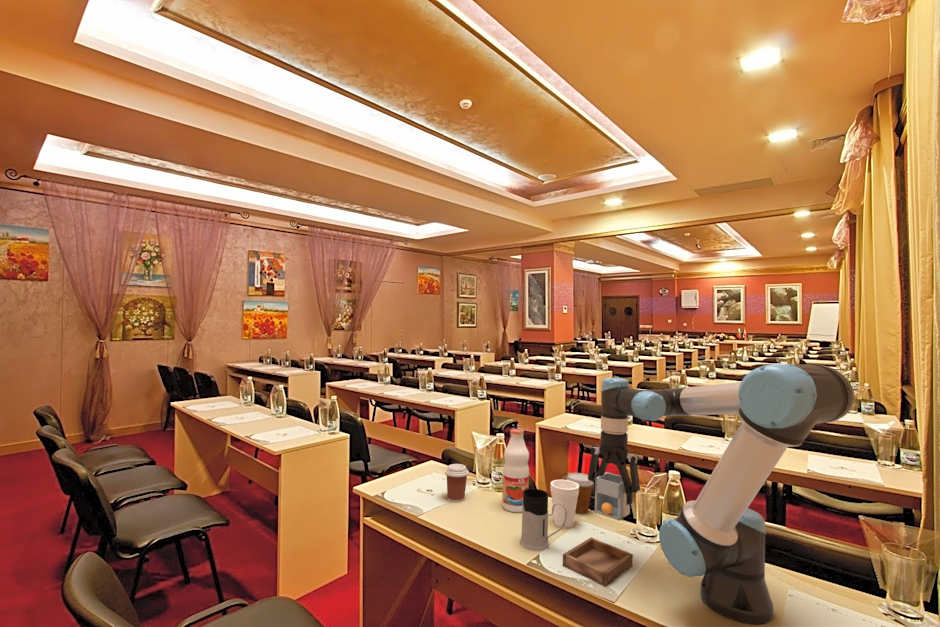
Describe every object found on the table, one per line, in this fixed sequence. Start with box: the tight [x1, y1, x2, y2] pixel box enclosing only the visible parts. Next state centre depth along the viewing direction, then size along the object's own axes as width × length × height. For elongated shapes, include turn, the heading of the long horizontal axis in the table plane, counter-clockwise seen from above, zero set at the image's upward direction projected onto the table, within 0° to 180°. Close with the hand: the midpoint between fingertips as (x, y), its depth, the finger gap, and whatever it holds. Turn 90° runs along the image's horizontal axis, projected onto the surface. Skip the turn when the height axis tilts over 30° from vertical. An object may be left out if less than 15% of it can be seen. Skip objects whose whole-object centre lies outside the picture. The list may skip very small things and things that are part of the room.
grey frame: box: [594, 471, 631, 522], centre depth 128 cm, size 7×7×10 cm
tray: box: [562, 537, 634, 587], centre depth 122 cm, size 13×15×3 cm
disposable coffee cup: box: [566, 472, 594, 515], centre depth 159 cm, size 10×10×12 cm
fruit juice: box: [501, 428, 530, 513], centre depth 160 cm, size 9×9×28 cm
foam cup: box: [549, 479, 579, 529], centre depth 148 cm, size 10×9×13 cm
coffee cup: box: [444, 463, 470, 503], centre depth 166 cm, size 9×9×12 cm
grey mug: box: [519, 488, 567, 551], centre depth 132 cm, size 9×14×15 cm, turn 59°
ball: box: [601, 502, 613, 514], centre depth 125 cm, size 3×3×3 cm
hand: (612, 510), depth 128 cm, fingers closed on grey frame, 7 cm apart
